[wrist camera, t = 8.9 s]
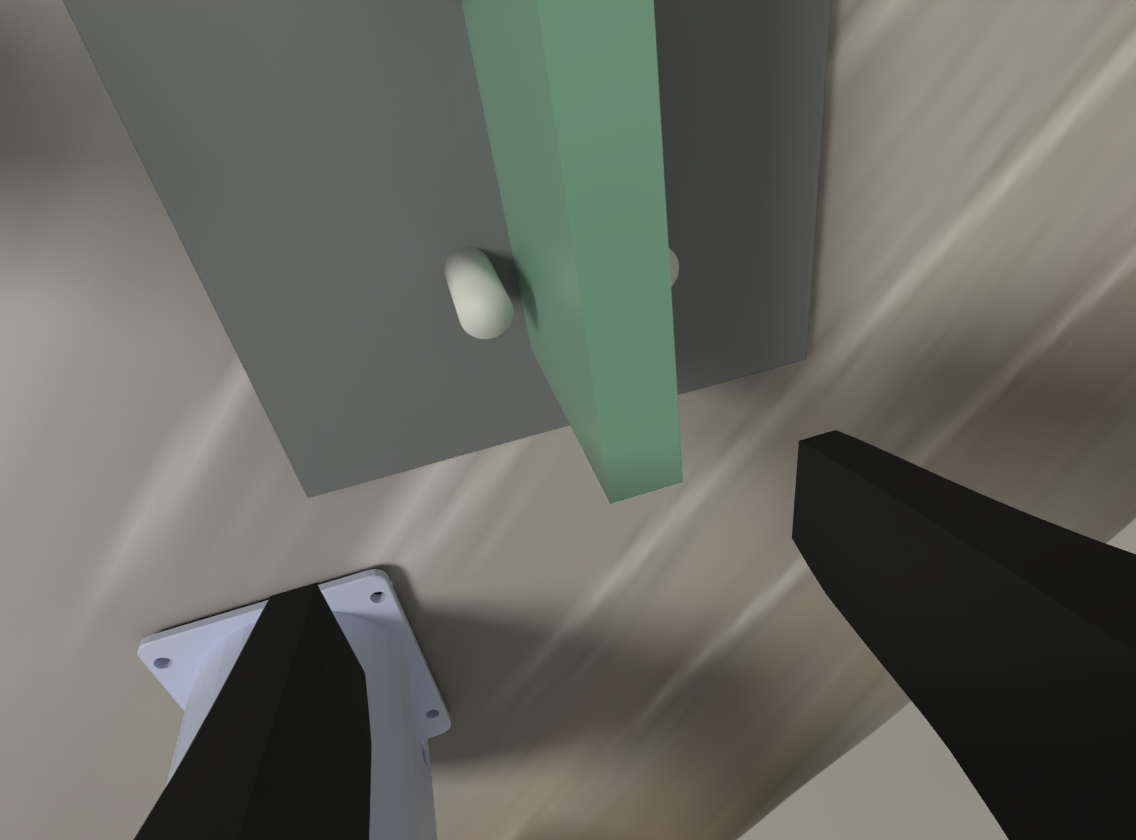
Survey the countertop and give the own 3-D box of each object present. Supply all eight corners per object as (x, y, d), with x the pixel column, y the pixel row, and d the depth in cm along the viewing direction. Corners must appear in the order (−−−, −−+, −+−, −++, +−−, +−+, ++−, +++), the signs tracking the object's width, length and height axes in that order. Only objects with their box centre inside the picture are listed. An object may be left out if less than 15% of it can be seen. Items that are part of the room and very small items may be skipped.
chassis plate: (789, 346, 22) (865, 404, 19) (309, 477, 20) (299, 570, 16) (834, -527, 12) (1017, -736, 8) (-140, -461, 10) (-402, -712, 6)
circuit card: (582, 336, 18) (683, 481, 13) (531, 349, 18) (610, 503, 12) (493, -254, 12) (623, -512, 6) (412, -243, 11) (463, -504, 6)
